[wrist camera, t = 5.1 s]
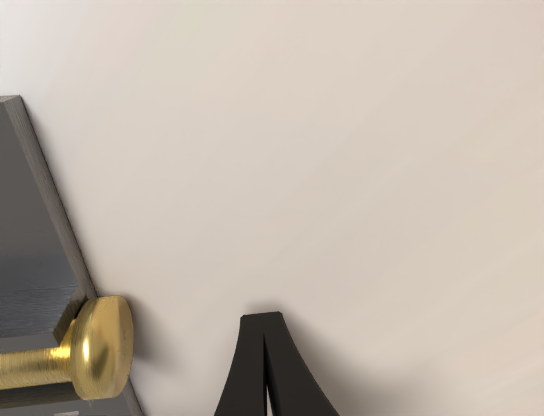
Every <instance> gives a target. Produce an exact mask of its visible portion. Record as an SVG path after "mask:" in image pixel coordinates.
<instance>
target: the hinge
mask: <svg viewBox="0 0 544 416" xmlns="http://www.w3.org/2000/svg"><path fill="white" fill-rule="evenodd" d="M92 298H98V297H97V295H96V292H95V290H94V287H93V284H92V282H91V279H90V276H89V274H88V271H87V269H86V266H85V263H84V261H83V258H82V256H81V253H80V250H79V248H78V245H77V243H76V240H75V237H74V235H73V232H72V230H71V227H70V224H69V222H68V219H67V217H66V214H65V211H64V209H63V206H62V204H61V201H60V198H59V196H58V193H57V191H56V188H55V185H54V183H53V180H52V178H51V175H50V172H49V170H48V167H47V164H46V162H45V159H44V157H43V154H42V151H41V149H40V146H39V144H38V141H37V138H36V136H35V133H34V131H33V128H32V125H31V123H30V120H29V118H28V115H27V112H26V110H25V107H24V105H23V102H22V99H21V97H20V95H11V96H0V353H8V352H17V351H26V350H36V349H45V348H54V347H59V346H60V344H61V342H62V340H63V338H64V336H65V334H66V332H67V330H68V328H69V326H70V324H71V322H72V320H73V318H77V317H78V314H79V312H80V310H81V309H82V307H83V306H84V304H85V303H86V302H87V301H88V300H90V299H92ZM0 416H143V415H142V412H141V409H140V407H139V404H138V402H137V399H136V396H135V394H134V391H133V389H132V386H131V383H130V381H129V378H128V379H127V382H126V384H125V386H124V388H123V390H122V392H121V393H120V394H119V395H118V396H116V397H112V398H103V399H95V400H83V399H81V398H80V397H79V396H78V394H77V393H76V391H75V389H74V386H73V383H72V382H64V383H55V384H47V385H38V386H29V387H21V388H12V389H3V390H0Z"/></svg>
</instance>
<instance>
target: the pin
mask: <svg viewBox="0 0 544 416" xmlns="http://www.w3.org/2000/svg"><path fill="white" fill-rule="evenodd" d="M133 345H134V333H133V322H132V316H131V312H130V308H129V306H128V303H127V302H126V300H125V299H124V298H123V297H122V296H110V297H99V298H92V299H90V300H88V301H87V302H86V303H85V304H84V306H83V307H82V309H81V310H80V312H79V314H78V317H77V318H73V320H72V322H71V324H70V326H69V328H68V330H67V332H66V334H65V336H64V338H63V340H62V342H61V344H60V346H59V347H54V348H45V349H36V350H26V351H17V352H8V353H0V390H3V389H12V388H21V387H29V386H38V385H47V384H55V383H64V382H72V383H73V386H74V389H75V391H76V393H77V394H78V396H79V397H80V398H81V399H83V400H95V399H103V398H112V397H116V396H118V395H119V394H120V393H121V392H122V390H123V388H124V386H125V384H126V382H127V379H128V376H129V373H130V368H131V363H132V357H133Z"/></svg>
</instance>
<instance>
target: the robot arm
mask: <svg viewBox="0 0 544 416" xmlns="http://www.w3.org/2000/svg"><path fill="white" fill-rule="evenodd" d="M267 387H268V393H269V398H270V404H271V409H272V414H273V416H339V414H338V413H337V411H336V410H335V409H334V407H333V406H332V405H331V403H330V402H329V400H328V399H327V397H326V396H325V394H324V393H323V392H322V390H321V388H320V387H319V385H318V384H317V382H316V381H315V379H314V378H313V376H312V374H311V373H310V371H309V369H308V368H307V366H306V364H305V362H304V360H303V359H302V357H301V355H300V353H299V351H298V350H297V348H296V346H295V344H294V342H293V340H292V337H291V335H290V333H289V331H288V329H287V326H286V324H285V321H284V318H283V315H282V313H281V312H279V311H278V312H268V313H259V314H249V315H243V316H242V317H241V318H240V330H239V336H238V341H237V345H236V350H235V354H234V357H233V361H232V365H231V368H230V372H229V375H228V378H227V381H226V384H225V387H224V390H223V392H222V395H221V398H220V401H219V404H218V406H217V409H216V411H215V414H214V416H267Z"/></svg>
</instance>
